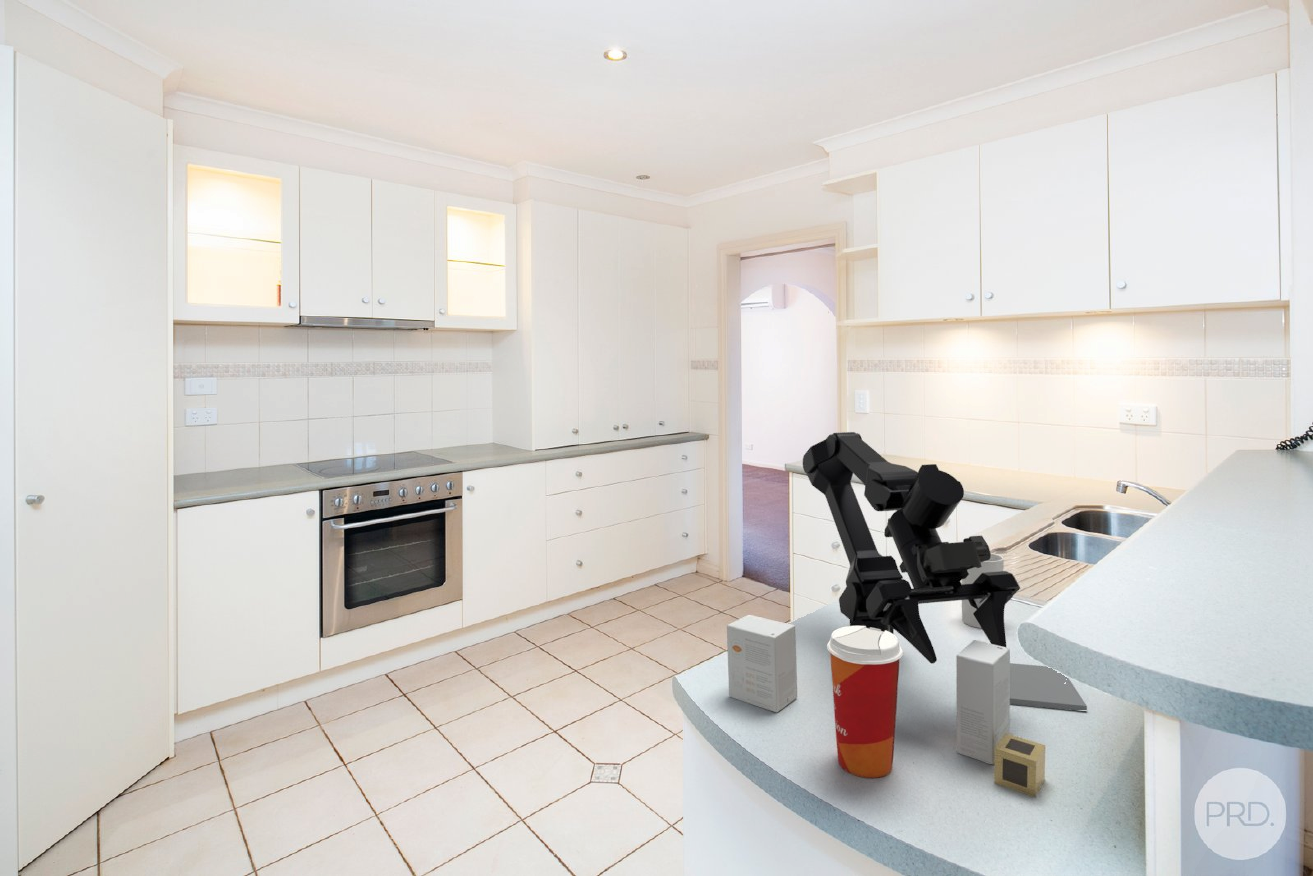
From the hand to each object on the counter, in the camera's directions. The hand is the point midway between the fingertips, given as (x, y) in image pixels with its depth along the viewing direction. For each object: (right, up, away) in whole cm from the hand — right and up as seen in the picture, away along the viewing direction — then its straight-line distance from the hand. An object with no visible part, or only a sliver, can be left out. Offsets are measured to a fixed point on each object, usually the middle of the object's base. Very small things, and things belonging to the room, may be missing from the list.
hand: (969, 658), depth 82 cm
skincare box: (+1, -10, -2) cm, 10 cm away
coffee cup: (-14, -11, -4) cm, 18 cm away
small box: (-23, -10, +12) cm, 28 cm away
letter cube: (+2, -11, -8) cm, 14 cm away
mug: (+20, -6, +39) cm, 45 cm away
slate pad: (+14, -8, +13) cm, 21 cm away
